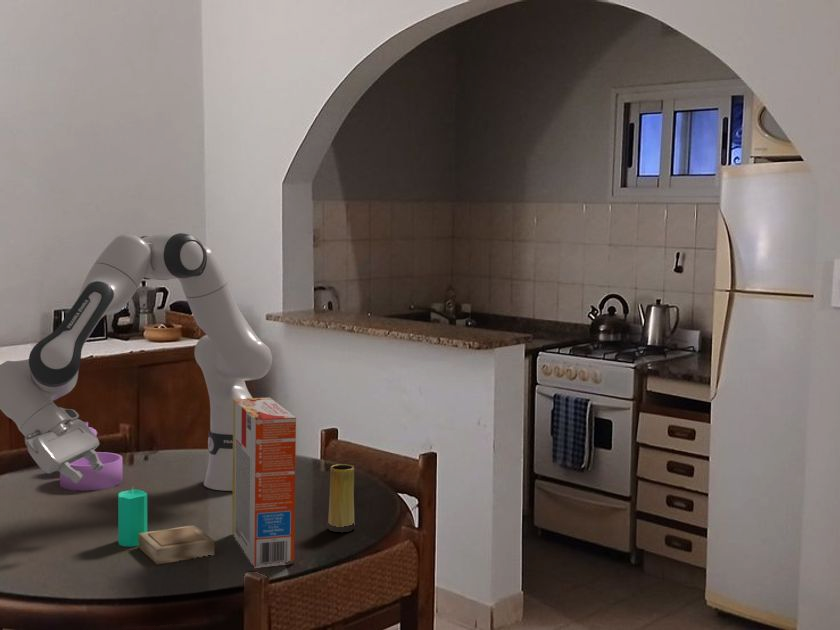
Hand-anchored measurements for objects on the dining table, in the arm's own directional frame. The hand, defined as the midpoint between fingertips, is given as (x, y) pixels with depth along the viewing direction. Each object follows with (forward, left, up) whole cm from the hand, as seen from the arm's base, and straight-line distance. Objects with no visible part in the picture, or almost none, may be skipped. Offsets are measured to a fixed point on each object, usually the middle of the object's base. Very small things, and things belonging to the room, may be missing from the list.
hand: (90, 474), depth 215 cm
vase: (-50, +19, -14) cm, 56 cm away
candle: (-7, +6, -14) cm, 17 cm away
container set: (-13, -51, -14) cm, 54 cm away
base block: (-13, +16, -14) cm, 25 cm away
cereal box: (-29, +23, -14) cm, 40 cm away
